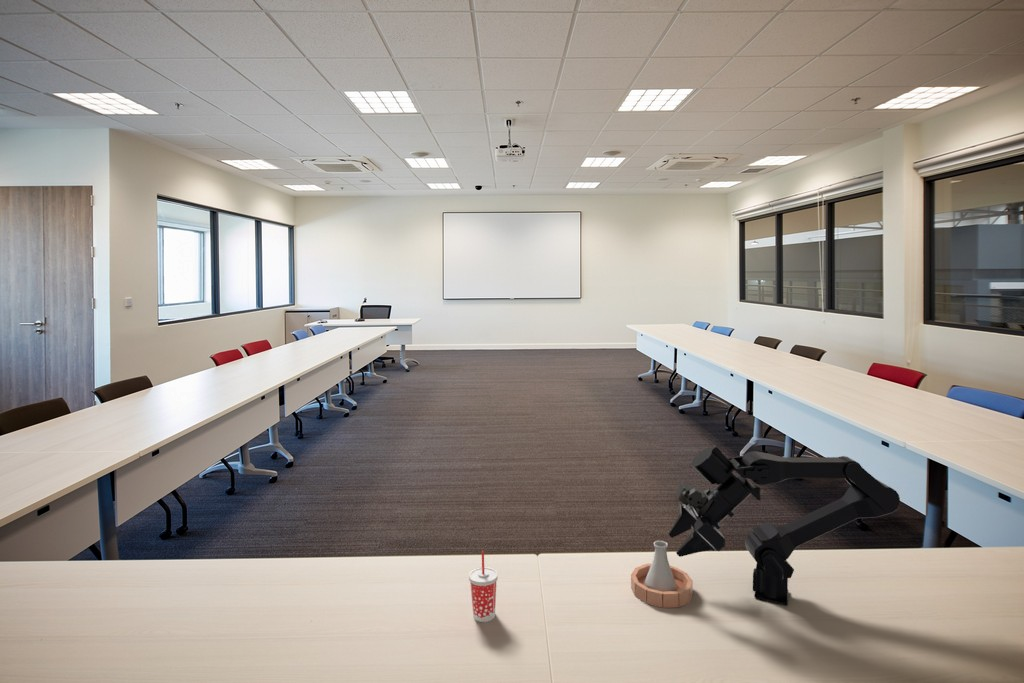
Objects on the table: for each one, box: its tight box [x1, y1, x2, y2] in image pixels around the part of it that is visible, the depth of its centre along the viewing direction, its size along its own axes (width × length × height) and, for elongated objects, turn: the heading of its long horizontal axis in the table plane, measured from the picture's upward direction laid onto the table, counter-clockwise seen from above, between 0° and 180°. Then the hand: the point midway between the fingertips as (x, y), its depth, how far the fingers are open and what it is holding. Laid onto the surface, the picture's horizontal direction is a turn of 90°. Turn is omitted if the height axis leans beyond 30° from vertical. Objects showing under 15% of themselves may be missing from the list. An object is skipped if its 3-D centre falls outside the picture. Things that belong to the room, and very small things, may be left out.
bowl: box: [630, 563, 694, 609], centre depth 120 cm, size 13×13×3 cm
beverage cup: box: [468, 550, 499, 623], centre depth 111 cm, size 6×6×14 cm
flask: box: [645, 540, 677, 592], centre depth 119 cm, size 7×7×10 cm
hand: (673, 545), depth 119 cm, fingers open, 9 cm apart
